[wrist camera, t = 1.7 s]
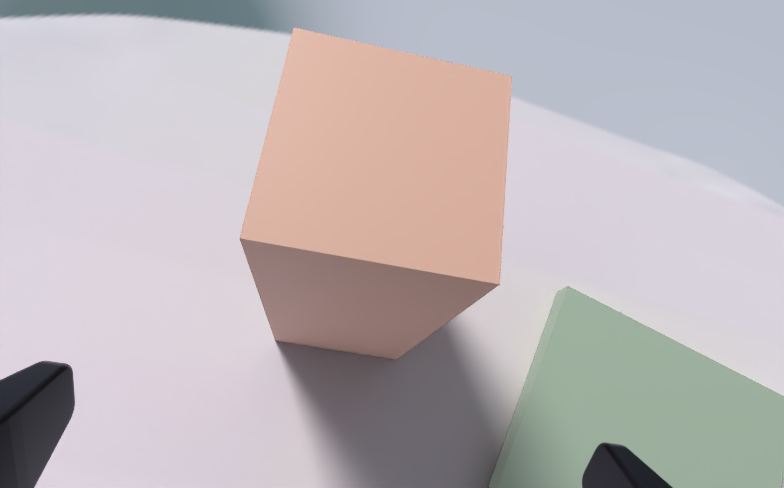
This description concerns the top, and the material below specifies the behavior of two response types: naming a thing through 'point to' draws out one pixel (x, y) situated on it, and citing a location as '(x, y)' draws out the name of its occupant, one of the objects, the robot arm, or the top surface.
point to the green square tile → (636, 407)
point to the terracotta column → (376, 195)
